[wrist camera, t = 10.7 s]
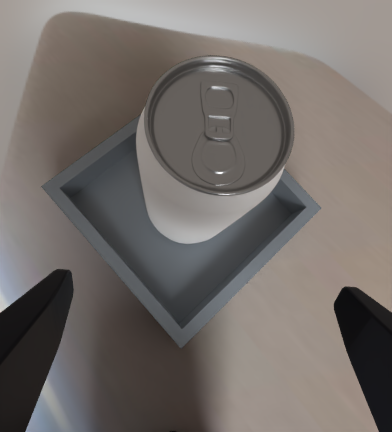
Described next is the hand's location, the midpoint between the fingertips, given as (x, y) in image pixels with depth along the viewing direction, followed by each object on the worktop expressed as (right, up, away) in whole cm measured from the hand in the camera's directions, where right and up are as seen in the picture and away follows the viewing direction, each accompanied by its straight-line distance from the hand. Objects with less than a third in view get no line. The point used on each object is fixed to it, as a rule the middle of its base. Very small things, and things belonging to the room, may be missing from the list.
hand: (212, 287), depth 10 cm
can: (-1, +3, +13) cm, 13 cm away
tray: (-1, +3, +13) cm, 14 cm away
